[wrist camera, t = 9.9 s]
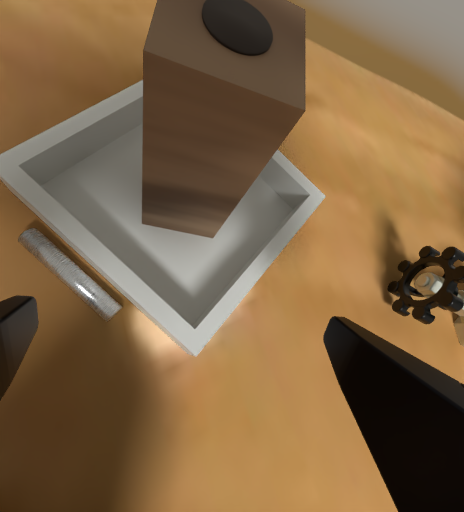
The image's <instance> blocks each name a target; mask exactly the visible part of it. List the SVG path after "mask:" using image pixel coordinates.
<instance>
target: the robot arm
mask: <svg viewBox="0 0 464 512" xmlns="http://www.w3.org/2000/svg"><path fill="white" fill-rule="evenodd" d="M37 328H38V312H37V303H36V299H35V298H34V297H32V296H13V297H11V298H8V299H6V300H3V301H1V302H0V400H1V399H2V397H3V396H4V394H5V392H6V391H7V389H8V387H9V386H10V384H11V382H12V380H13V378H14V376H15V374H16V372H17V370H18V368H19V366H20V364H21V362H22V360H23V358H24V356H25V354H26V352H27V349H28V347H29V345H30V343H31V341H32V339H33V337H34V335H35V333H36V331H37ZM323 340H324V344H325V347H326V350H327V353H328V355H329V358H330V361H331V364H332V367H333V369H334V372H335V375H336V378H337V380H338V383H339V385H340V388H341V390H342V392H343V394H344V396H345V398H346V401H347V403H348V405H349V407H350V409H351V411H352V413H353V416H354V418H355V420H356V422H357V424H358V426H359V429H360V431H361V433H362V435H363V437H364V439H365V441H366V444H367V446H368V448H369V450H370V452H371V454H372V456H373V459H374V461H375V463H376V465H377V467H378V469H379V471H380V474H381V476H382V478H383V480H384V482H385V484H386V487H387V489H388V491H389V493H390V495H391V497H392V499H393V502H394V504H395V506H396V508H397V510H398V512H464V384H462V383H459V382H458V381H457V380H455V379H453V378H451V377H450V376H448V375H446V374H444V373H443V372H441V371H439V370H437V369H436V368H434V367H432V366H430V365H428V364H427V363H425V362H423V361H421V360H420V359H418V358H416V357H414V356H413V355H411V354H409V353H407V352H405V351H404V350H402V349H400V348H398V347H397V346H395V345H393V344H391V343H389V342H388V341H386V340H384V339H382V338H381V337H379V336H377V335H375V334H374V333H372V332H370V331H368V330H366V329H365V328H363V327H361V326H359V325H358V324H356V323H354V322H352V321H351V320H349V319H347V318H345V317H337V316H334V317H332V318H331V319H330V321H329V323H328V326H327V328H326V331H325V333H324V337H323Z"/></svg>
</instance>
